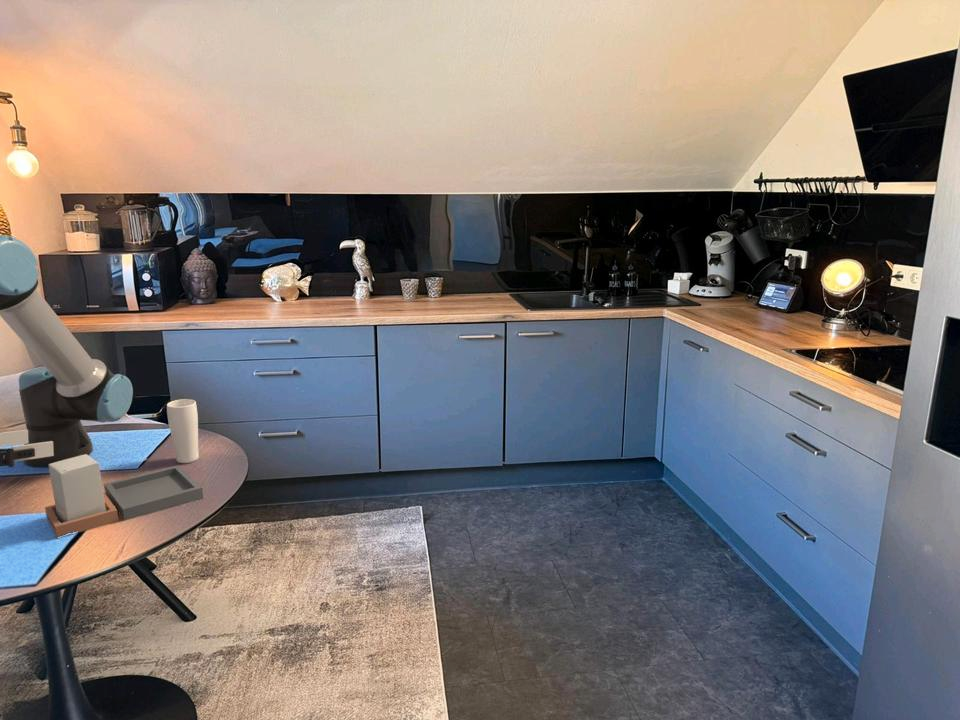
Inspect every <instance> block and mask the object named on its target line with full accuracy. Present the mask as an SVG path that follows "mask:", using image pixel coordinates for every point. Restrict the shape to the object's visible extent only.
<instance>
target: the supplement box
mask: <svg viewBox="0 0 960 720" xmlns="http://www.w3.org/2000/svg"><path fill="white" fill-rule="evenodd" d="M48 471H49V477H50V482H51V487H52V493H53V500H54V505H55V506H56V513H57V519H58V521H60V522H61V523H64V522H67V521H71V520H75V519H78V518H82V517H86V516H89V515H93V514H97V513H100V512H104V511H106V507H105V501H104V494H103V492H104V490H103V484H102V476H101V469H100V463H99V462H97V461H96V460H95V459H94V458H92V457H91V456H89V455H87V454H85V455H81V456H77V457H73V458H69V459H66V460H62V461H58V462H55V463H51V464H49V466H48Z"/></svg>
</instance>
